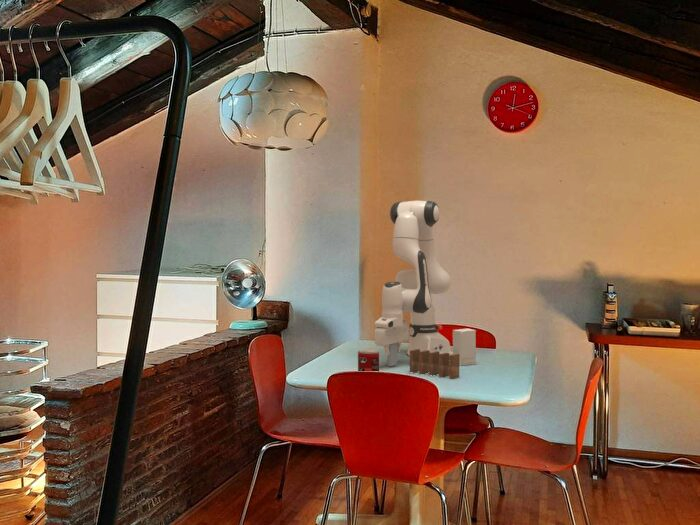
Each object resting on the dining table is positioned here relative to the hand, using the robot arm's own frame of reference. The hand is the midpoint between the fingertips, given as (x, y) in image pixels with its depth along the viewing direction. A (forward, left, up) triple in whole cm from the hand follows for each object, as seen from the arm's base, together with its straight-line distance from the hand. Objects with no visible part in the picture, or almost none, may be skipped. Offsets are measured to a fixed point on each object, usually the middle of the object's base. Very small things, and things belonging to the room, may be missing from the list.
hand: (392, 354), depth 298 cm
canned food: (+21, +18, -5) cm, 29 cm away
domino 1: (0, 0, -5) cm, 5 cm away
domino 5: (-7, +27, -5) cm, 29 cm away
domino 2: (-2, +15, -5) cm, 16 cm away
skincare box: (-30, +9, -5) cm, 32 cm away
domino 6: (-9, +31, -5) cm, 33 cm away
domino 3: (-4, +19, -5) cm, 20 cm away
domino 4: (-5, +23, -5) cm, 24 cm away
